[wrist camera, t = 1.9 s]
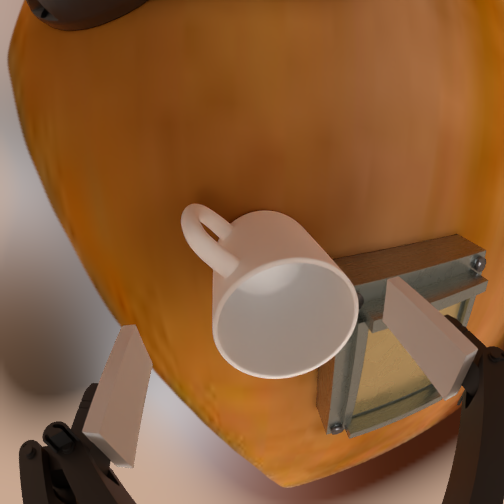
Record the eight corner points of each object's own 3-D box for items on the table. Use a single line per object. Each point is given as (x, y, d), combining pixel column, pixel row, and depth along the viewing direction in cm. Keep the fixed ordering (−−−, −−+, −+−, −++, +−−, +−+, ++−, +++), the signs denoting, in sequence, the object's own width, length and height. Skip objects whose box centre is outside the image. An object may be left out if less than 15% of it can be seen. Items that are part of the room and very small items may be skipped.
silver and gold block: (317, 262, 25) (351, 307, 18) (457, 234, 26) (501, 259, 19) (316, 406, 34) (331, 449, 27) (424, 369, 35) (447, 401, 28)
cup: (262, 312, 26) (283, 394, 17) (159, 231, 22) (123, 295, 13) (327, 251, 25) (382, 315, 16) (228, 154, 21) (235, 165, 11)
